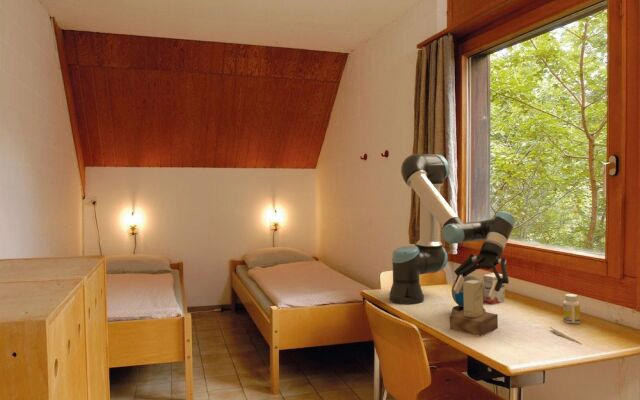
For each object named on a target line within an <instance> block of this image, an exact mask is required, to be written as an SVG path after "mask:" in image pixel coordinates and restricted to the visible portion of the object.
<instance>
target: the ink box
mask: <svg viewBox="0 0 640 400" xmlns="http://www.w3.org/2000/svg"><path fill="white" fill-rule="evenodd" d="M499 275H500V277H501V278H503V276H502V273H499ZM495 280H497V278H496V276H495V274H494V272H492V273H487V274H484V275H483V285H484V287H485V290H486V297H485V300H484V302H483V303H487V304H491V305H495V304H498V303H504V302H505V301H506V299H505V298H506V296H505V293H506V292H505V284H506V283H503V284H502V286H501V288H500V290H499V292H498V291H497V292H496V295H495V297H494V300H491V299H490V297H489V296H488V295H489V293H490V290H491V288H492V286H493V283H494V281H495ZM497 281H498V280H497Z"/></svg>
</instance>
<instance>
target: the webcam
mask: <svg viewBox="0 0 640 400" xmlns="http://www.w3.org/2000/svg"><path fill="white" fill-rule="evenodd" d="M469 280H478V281H481V280H480V279H479V278H478V277H475V276H473V275H467V276H465V277H464V282H465V281H469ZM455 285H456V283H455V281H454V282H453V284H452V287H451V297H452V299H453V301H454V302H455V304H456V305H455V306H453V307H452V309H451V313H452V314H454V313H457V312H459V311H462V310H464V294H463V284H462V286H461V288H460V291H459V293H458V294H456V292H455V291H454V287H455ZM485 297H486V290H485V287H484V284H483V303H485V302H484V300H485ZM483 312H487V310H486V309H485V307H483ZM452 314H451V315H452Z"/></svg>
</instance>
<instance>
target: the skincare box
mask: <svg viewBox="0 0 640 400" xmlns="http://www.w3.org/2000/svg"><path fill="white" fill-rule="evenodd" d="M483 285H484V281H483V280H480V281H478V280H469V281H465V282H463V294H464V316H468V317H473V318H475V317H478V316H481V315H483V308H484V302H483Z"/></svg>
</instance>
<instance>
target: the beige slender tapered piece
mask: <svg viewBox="0 0 640 400" xmlns="http://www.w3.org/2000/svg"><path fill="white" fill-rule="evenodd" d="M549 329H552V330H550V332H553V333H554V334H555V335H557V336H560V337H562V338H565V339H566V340H570V341H572V342H575V343H577V344H580V345H582V344H583V343H582V342H581V341H579V340H578V339H577V338H575V337H573V336H572V335H570V334H568V333H567V332H566V331H565V330H564V329H560V328H557V327H553V326H552V325H550V326H549Z"/></svg>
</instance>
